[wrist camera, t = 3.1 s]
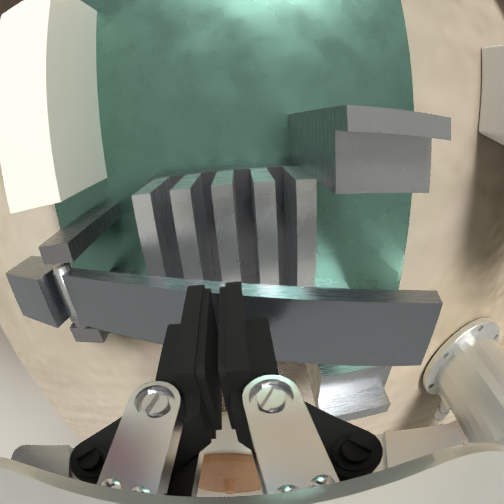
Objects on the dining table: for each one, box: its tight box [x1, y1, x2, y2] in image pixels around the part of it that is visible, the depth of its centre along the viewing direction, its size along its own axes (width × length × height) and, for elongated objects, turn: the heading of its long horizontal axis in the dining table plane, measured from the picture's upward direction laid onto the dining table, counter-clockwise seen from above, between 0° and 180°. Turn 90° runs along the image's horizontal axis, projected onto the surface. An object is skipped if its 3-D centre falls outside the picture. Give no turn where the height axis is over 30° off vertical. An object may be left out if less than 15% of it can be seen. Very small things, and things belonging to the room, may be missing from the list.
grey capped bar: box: [6, 256, 443, 366], centre depth 12 cm, size 4×22×2 cm, turn 94°
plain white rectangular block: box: [0, 0, 107, 214], centre depth 12 cm, size 12×4×6 cm, turn 4°
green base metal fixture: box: [39, 0, 451, 421], centre depth 13 cm, size 27×26×11 cm
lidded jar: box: [198, 411, 261, 494], centre depth 26 cm, size 11×11×9 cm
